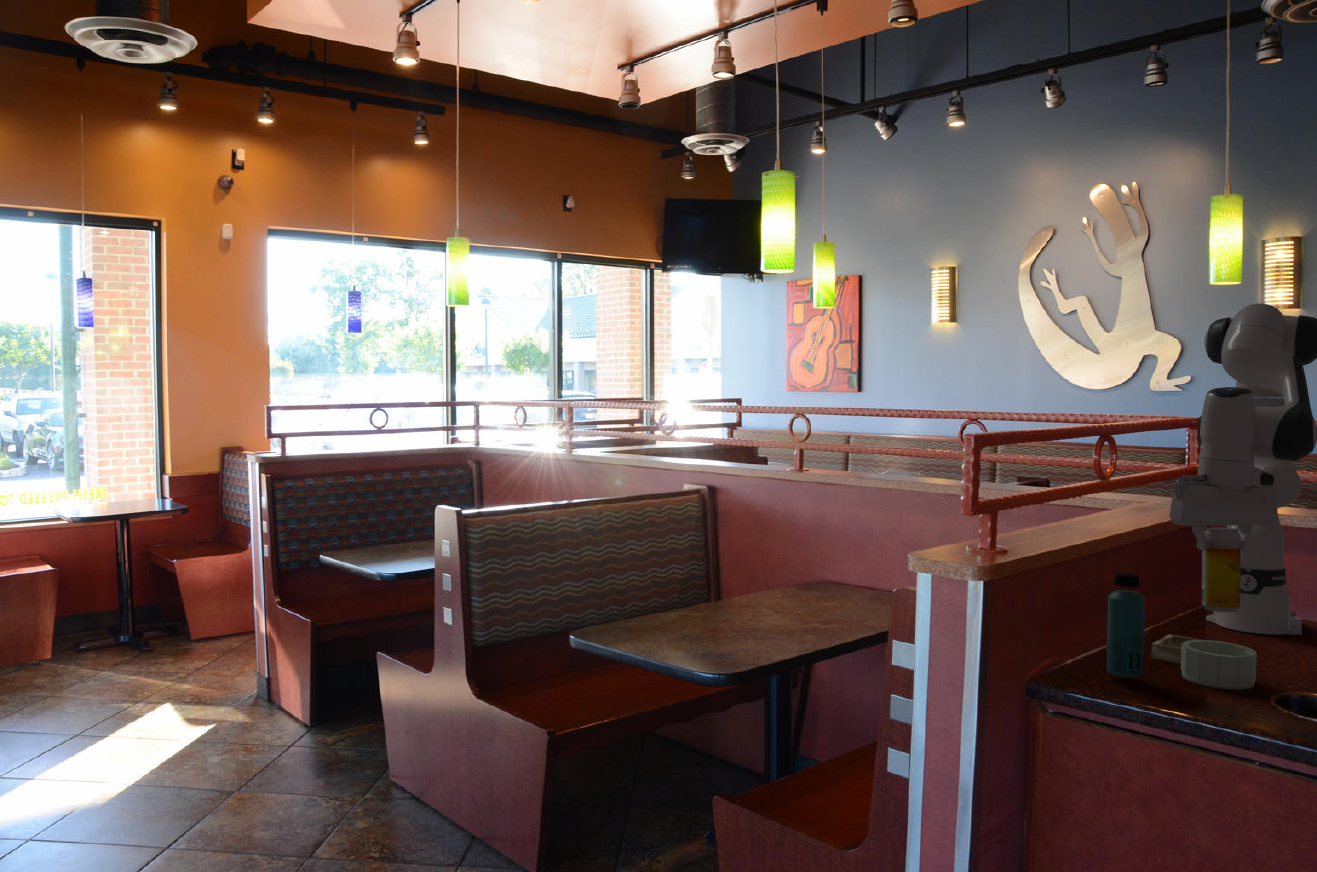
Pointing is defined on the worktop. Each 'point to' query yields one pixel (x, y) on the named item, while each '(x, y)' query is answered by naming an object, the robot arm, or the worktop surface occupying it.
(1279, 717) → the worktop surface
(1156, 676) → the worktop surface
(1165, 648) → the square beige tray
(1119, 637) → the beverage bottle
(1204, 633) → the worktop surface
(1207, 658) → the cup
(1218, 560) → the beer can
